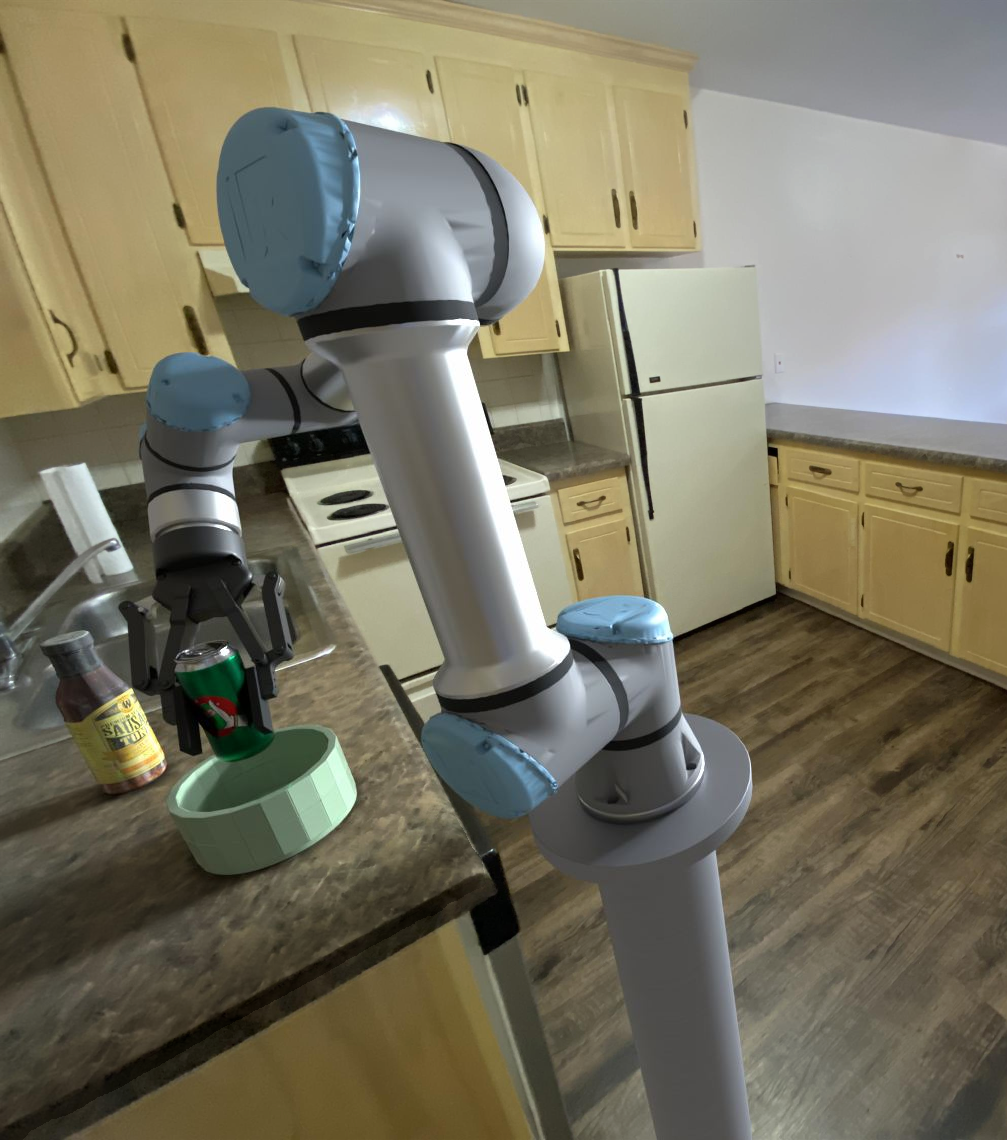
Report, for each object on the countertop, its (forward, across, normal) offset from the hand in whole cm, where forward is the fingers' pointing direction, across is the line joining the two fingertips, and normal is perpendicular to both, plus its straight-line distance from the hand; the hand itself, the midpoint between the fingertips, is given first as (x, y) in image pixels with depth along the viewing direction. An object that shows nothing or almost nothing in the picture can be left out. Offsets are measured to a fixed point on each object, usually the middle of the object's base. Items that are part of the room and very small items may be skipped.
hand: (228, 740), depth 61 cm
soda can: (0, 0, -5) cm, 5 cm away
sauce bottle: (-7, +17, -26) cm, 32 cm away
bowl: (+7, 0, -12) cm, 14 cm away
